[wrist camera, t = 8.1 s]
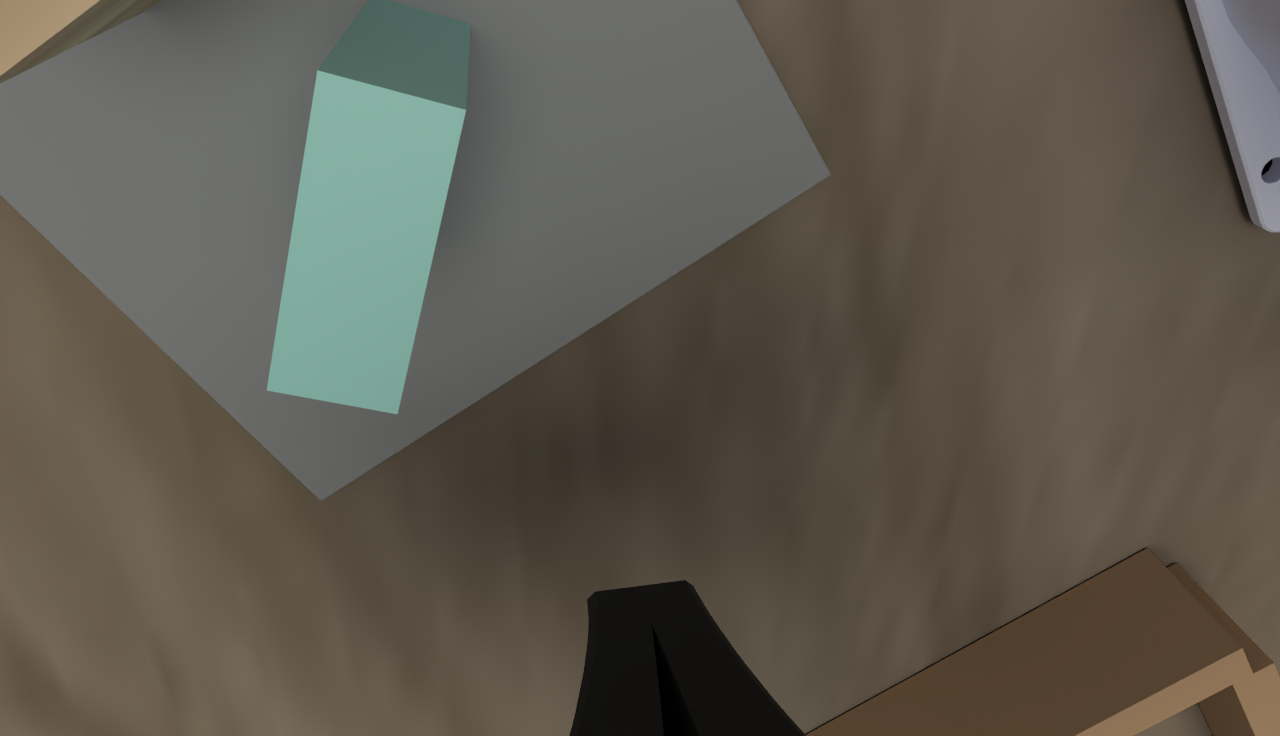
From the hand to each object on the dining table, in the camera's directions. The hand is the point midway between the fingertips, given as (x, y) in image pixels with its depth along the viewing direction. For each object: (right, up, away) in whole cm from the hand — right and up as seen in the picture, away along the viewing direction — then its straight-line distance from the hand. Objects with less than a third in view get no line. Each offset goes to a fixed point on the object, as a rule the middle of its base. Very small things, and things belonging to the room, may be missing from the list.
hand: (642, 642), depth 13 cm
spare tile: (-4, +8, +4) cm, 9 cm away
